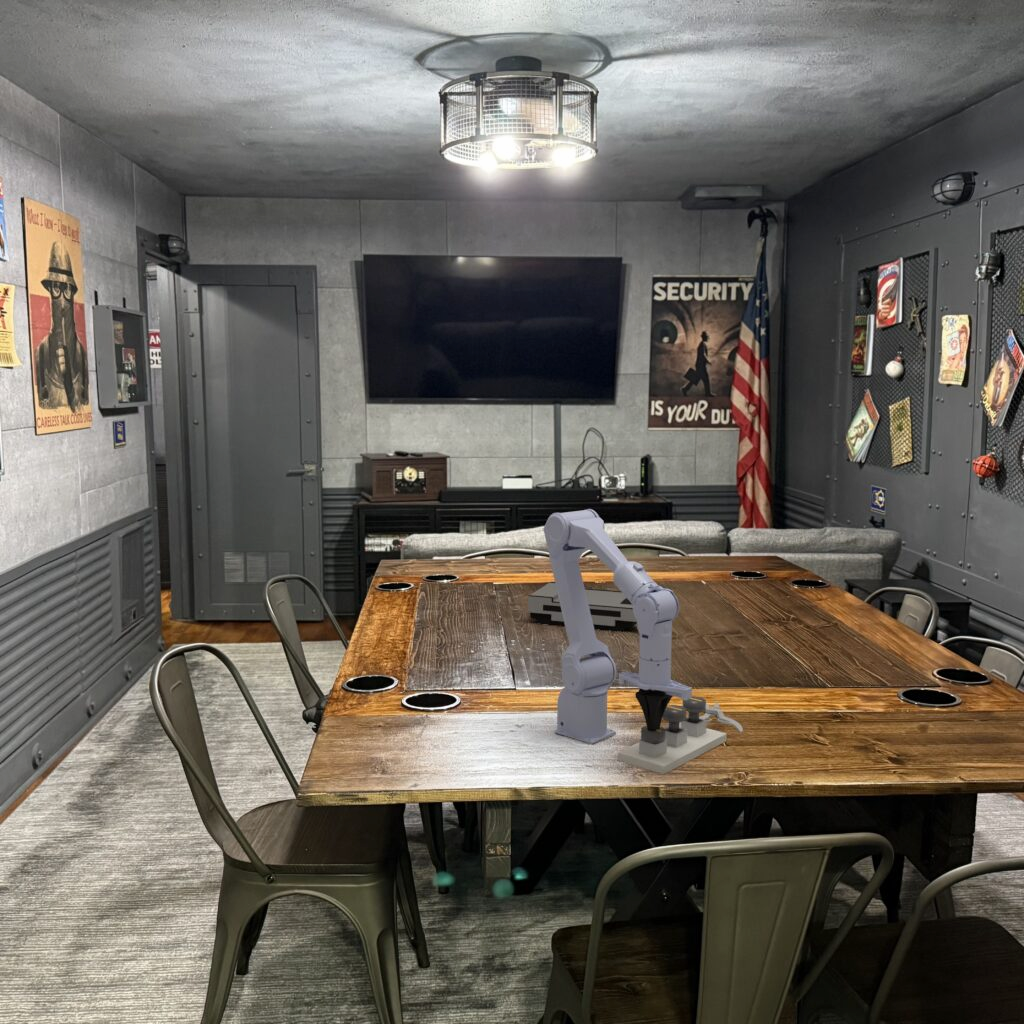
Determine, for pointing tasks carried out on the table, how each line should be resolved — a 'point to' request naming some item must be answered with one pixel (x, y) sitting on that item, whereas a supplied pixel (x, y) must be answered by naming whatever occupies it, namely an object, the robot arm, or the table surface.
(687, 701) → the knob far
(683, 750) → the knob mount
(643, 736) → the knob near
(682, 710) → the knob middle
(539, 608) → the game console
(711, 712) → the pliers
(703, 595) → the table surface
